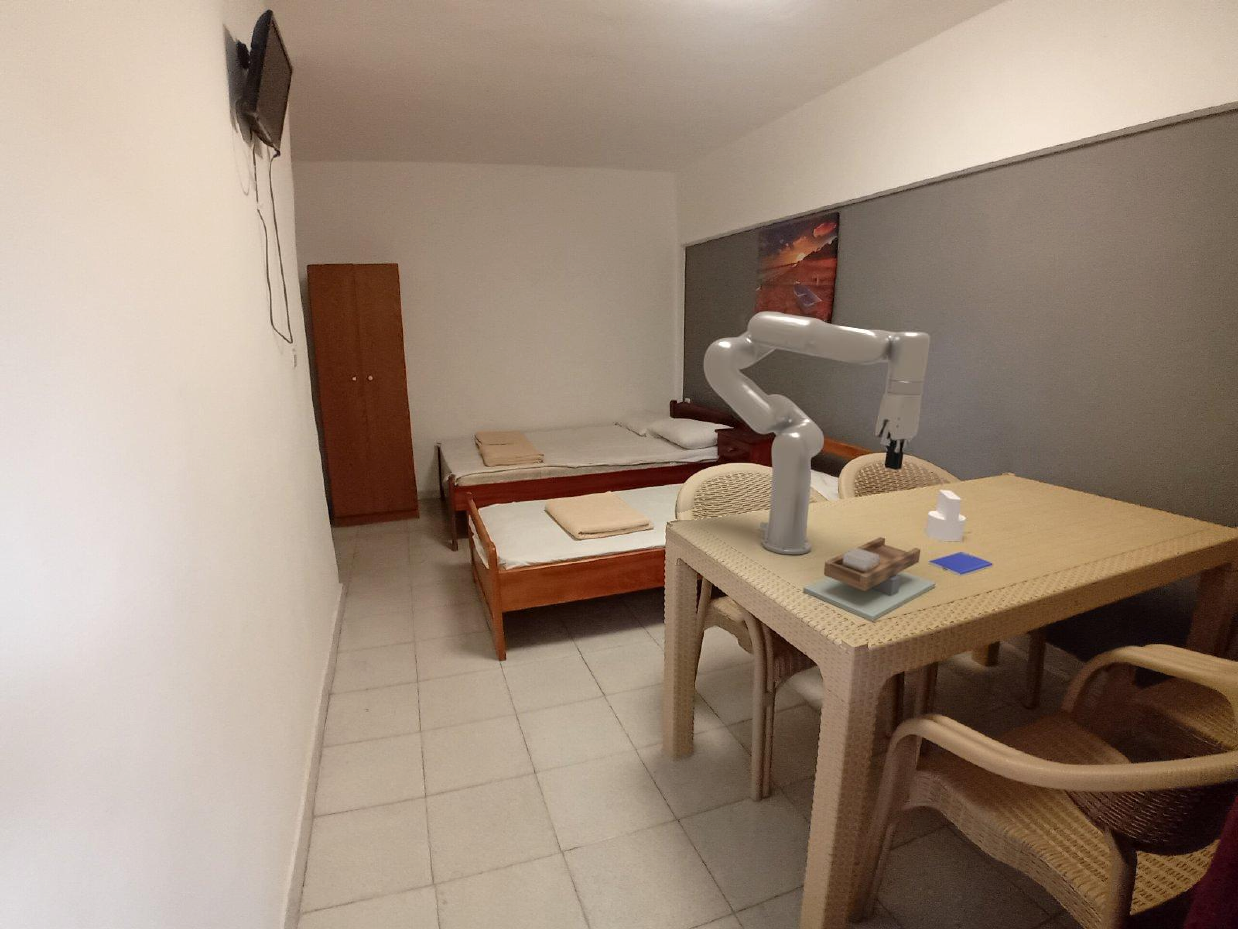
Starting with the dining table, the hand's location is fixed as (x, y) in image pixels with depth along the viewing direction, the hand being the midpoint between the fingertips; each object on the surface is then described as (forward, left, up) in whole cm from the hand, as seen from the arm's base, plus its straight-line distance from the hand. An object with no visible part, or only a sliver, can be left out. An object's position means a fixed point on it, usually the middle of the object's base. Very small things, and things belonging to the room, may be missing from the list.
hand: (892, 468), depth 136 cm
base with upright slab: (-1, +35, -25) cm, 43 cm away
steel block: (+6, -20, -18) cm, 28 cm away
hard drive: (+11, +17, -26) cm, 33 cm away
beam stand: (+5, -13, -25) cm, 28 cm away
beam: (+5, -13, -20) cm, 24 cm away
